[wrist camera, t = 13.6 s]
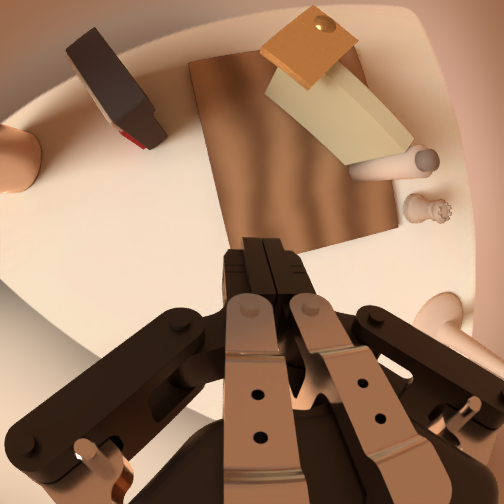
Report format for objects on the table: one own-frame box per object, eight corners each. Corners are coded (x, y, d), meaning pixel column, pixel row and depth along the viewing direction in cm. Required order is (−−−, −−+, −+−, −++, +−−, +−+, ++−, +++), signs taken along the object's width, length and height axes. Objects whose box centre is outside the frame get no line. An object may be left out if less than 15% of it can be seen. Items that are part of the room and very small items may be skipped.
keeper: (271, 132, 37) (312, 86, 20) (242, 108, 36) (261, 46, 19) (303, 97, 37) (358, 40, 20) (275, 74, 36) (313, 5, 19)
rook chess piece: (418, 190, 41) (452, 190, 33) (426, 216, 42) (459, 221, 34) (397, 199, 41) (430, 201, 33) (405, 227, 42) (438, 233, 34)
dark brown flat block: (105, 96, 34) (57, 53, 19) (130, 77, 34) (93, 25, 19) (145, 154, 36) (106, 130, 21) (172, 134, 36) (148, 98, 21)
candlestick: (463, 333, 48) (571, 401, 18) (416, 370, 47) (519, 465, 18) (455, 279, 45) (590, 337, 16) (403, 317, 45) (538, 413, 15)
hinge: (373, 170, 38) (448, 161, 23) (360, 187, 39) (434, 184, 23) (277, 81, 35) (311, 21, 20) (261, 96, 35) (289, 40, 20)
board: (235, 267, 40) (235, 269, 39) (188, 66, 35) (188, 62, 33) (394, 226, 42) (398, 227, 41) (350, 48, 36) (353, 45, 35)
